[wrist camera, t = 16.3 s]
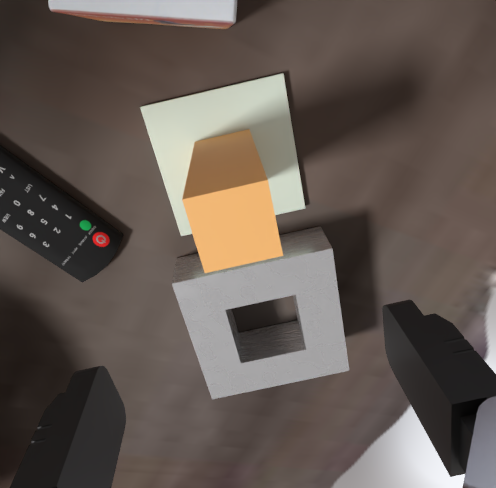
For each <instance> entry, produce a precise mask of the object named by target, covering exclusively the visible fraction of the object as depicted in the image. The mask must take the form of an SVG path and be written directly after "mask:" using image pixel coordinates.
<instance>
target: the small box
mask: <svg viewBox="0 0 496 488" xmlns="http://www.w3.org/2000/svg"><path fill="white" fill-rule="evenodd" d="M48 4H49V9H50V10H51V11H52V12H57V13H64V14H69V15H74V16H79V17H84V18H89V19H95V20H100V21H105V22H126V23H143V24H158V25H172V26H186V27H200V28H214V29H228V28H229V27H230V26H232V25H233V24H235V22H236V13H237V0H48Z"/></svg>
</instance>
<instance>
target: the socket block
mask: <svg viewBox="0 0 496 488" xmlns="http://www.w3.org/2000/svg"><path fill="white" fill-rule="evenodd" d="M279 237H280V242H281V247H282V252H283V256H280V257H276V258H271V259H267V260H262V261H258V262H253V263H249V264H244V265H240V266H235V267H231V268H227V269H222V270H218V271H213V272H209V273H204V269H203V266H202V263H201V260H200V256H199V253H198V254H193V255H189V256H184V257H180V258H177V259H176V264H175V269H174V275H173V280H172V286H173V289H174V291H175V294H176V297H177V300H178V303H179V306H180V309H181V311H182V314H183V317H184V320H185V323H186V326H187V329H188V331H189V334H190V337H191V340H192V343H193V346H194V349H195V351H196V354H197V357H198V360H199V363H200V366H201V369H202V371H203V374H204V377H205V380H206V383H207V386H208V389H209V391H210V394H211V397H212V399H216V398H221V397H226V396H230V395H235V394H240V393H245V392H249V391H254V390H259V389H264V388H268V387H273V386H278V385H283V384H287V383H292V382H297V381H302V380H307V379H311V378H316V377H321V376H326V375H330V374H335V373H340V372H345V371H349V365H348V358H347V350H346V343H345V336H344V329H343V321H342V314H341V307H340V300H339V292H338V285H337V278H336V271H335V263H334V256H333V249H332V247H331V245H330V243H329V241H328V239H327V238H326V236H325V234H324V232H323V230H322V229H321V227H320V226H319V227H314V228H310V229H305V230H301V231H297V232H292V233H288V234H283V235H279ZM292 295H293V298H294V304H295V309H296V314H297V319H298V320H296V321H291V322H287V323H282V324H277V325H273V326H268V327H263V328H259V329H254V330H249V331H245V332H240V333H239V332H238V329H237V325H236V322H235V318H234V315H233V311H232V308H236V307H241V306H246V305H250V304H255V303H259V302H264V301H269V300H273V299H278V298H282V297H287V296H292Z"/></svg>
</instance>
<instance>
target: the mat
mask: <svg viewBox="0 0 496 488" xmlns="http://www.w3.org/2000/svg"><path fill="white" fill-rule="evenodd" d="M140 108H141V112H142V115H143V118H144V121H145V124H146V127H147V130H148V134H149V137H150V140H151V143H152V146H153V149H154V152H155V155H156V159H157V162H158V165H159V168H160V171H161V174H162V177H163V181H164V184H165V187H166V190H167V193H168V196H169V199H170V203H171V206H172V209H173V212H174V215H175V218H176V221H177V225H178V228H179V231H180V234H181V236H184V235H189V234H192V230H191V227H190V224H189V221H188V217H187V214H186V211H185V207H184V204H183V201H182V198H183V193H184V189H185V184H186V179H187V175H188V170H189V166H190V161H191V156H192V152H193V147H194V143H195V142H196V141H200V140H205V139H209V138H213V137H217V136H222V135H226V134H230V133H234V132H239V131H243V130H247V129H250V132H251V135H252V138H253V140H254V143H255V146H256V149H257V151H258V154H259V157H260V160H261V162H262V165H263V168H264V171H265V173H266V176H267V179H268V183H269V188H270V193H271V198H272V203H273V208H274V213H275V215H278V214H282V213H287V212H291V211H295V210H300V209H304V208H305V203H304V197H303V191H302V185H301V179H300V172H299V166H298V160H297V154H296V148H295V142H294V136H293V129H292V123H291V117H290V111H289V105H288V99H287V93H286V87H285V80H284V74H283V73H281V74H277V75H272V76H268V77H264V78H260V79H255V80H251V81H247V82H243V83H238V84H234V85H230V86H226V87H221V88H217V89H213V90H209V91H205V92H200V93H196V94H192V95H188V96H183V97H179V98H175V99H171V100H166V101H162V102H158V103H154V104H149V105H145V106H141V107H140Z"/></svg>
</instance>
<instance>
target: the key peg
mask: <svg viewBox="0 0 496 488" xmlns="http://www.w3.org/2000/svg"><path fill="white" fill-rule="evenodd" d="M182 201H183V204H184V207H185V211H186V214H187V217H188V221H189V224H190V227H191V230H192V234H193V237H194V240H195V243H196V247H197V250H198V253H199V256H200V260H201V263H202V266H203V269H204V273H209V272H213V271H218V270H222V269H227V268H231V267H235V266H240V265H244V264H249V263H253V262H258V261H262V260H267V259H271V258H276V257H280V256H283V252H282V247H281V242H280V237H279V232H278V227H277V223H276V218H275V213H274V208H273V203H272V198H271V193H270V188H269V183H268V179H267V176H266V173H265V171H264V168H263V165H262V162H261V160H260V157H259V154H258V151H257V149H256V146H255V143H254V140H253V138H252V135H251V132H250V129H247V130H243V131H239V132H234V133H230V134H226V135H222V136H217V137H213V138H209V139H205V140H200V141H196V142H195V143H194V147H193V152H192V156H191V161H190V166H189V170H188V175H187V179H186V184H185V189H184V193H183V198H182Z"/></svg>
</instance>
